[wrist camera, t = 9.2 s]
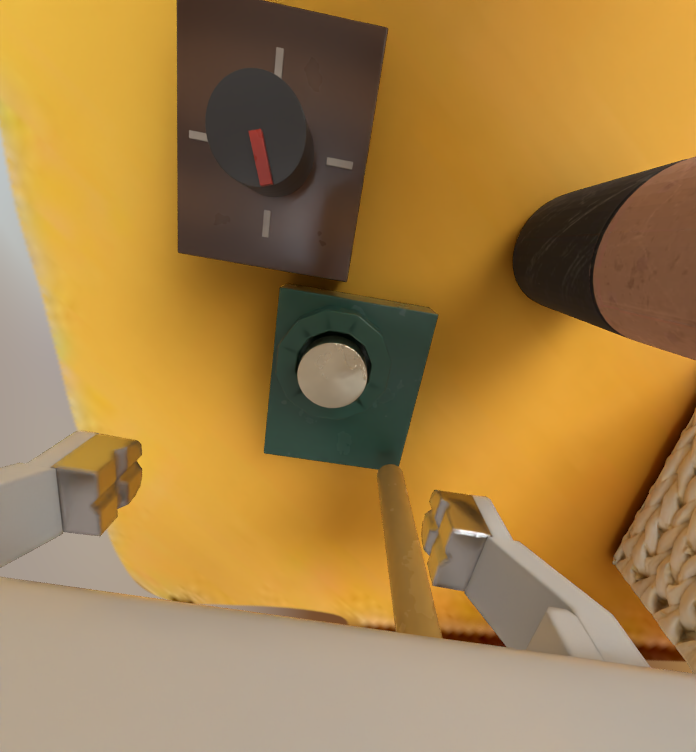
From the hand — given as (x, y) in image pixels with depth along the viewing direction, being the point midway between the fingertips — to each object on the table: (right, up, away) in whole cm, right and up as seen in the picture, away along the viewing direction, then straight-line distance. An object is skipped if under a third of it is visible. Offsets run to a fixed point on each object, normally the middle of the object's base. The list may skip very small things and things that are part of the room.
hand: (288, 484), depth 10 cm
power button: (+1, +4, +12) cm, 12 cm away
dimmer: (-2, +16, +12) cm, 20 cm away
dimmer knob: (-2, +15, +9) cm, 17 cm away
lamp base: (+1, +3, +16) cm, 17 cm away
